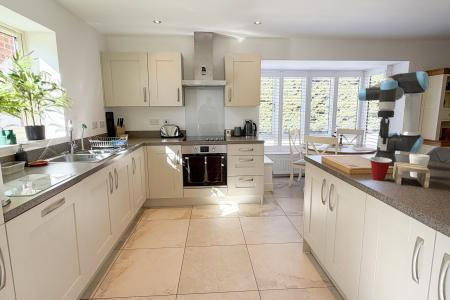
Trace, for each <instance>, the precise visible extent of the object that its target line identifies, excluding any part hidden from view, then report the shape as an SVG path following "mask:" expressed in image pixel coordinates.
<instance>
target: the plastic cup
mask: <svg viewBox="0 0 450 300" xmlns="http://www.w3.org/2000/svg"><path fill="white" fill-rule="evenodd" d="M369 160H370V166H371V177H372V179H373V180H374V181H380V182H383V181H385V179H386V178H387V174H388V171H389V167H390V166H389V165H390V163H391V162H392V160H391V159H388V158H382V157H375V156H372V157H370V158H369Z"/></svg>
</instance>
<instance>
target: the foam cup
mask: <svg viewBox="0 0 450 300" xmlns="http://www.w3.org/2000/svg"><path fill="white" fill-rule="evenodd" d="M430 158H431V157H430V155H428V154H422V153H421V154H419V153H410V154H409V157H408V159H409V163H413V164H422V165H424V166H425V167H426V168H428V164H429V161H430ZM409 175H410V177H411V178H415V179H417V172H409Z"/></svg>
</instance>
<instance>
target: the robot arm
mask: <svg viewBox="0 0 450 300" xmlns="http://www.w3.org/2000/svg"><path fill="white" fill-rule="evenodd" d="M429 86H430V79H429V75H428V73H427V72H426V71H412V72H400V73H396V74H392V75H390V76H387V77H385V78H383V79H382V80H381V81H380V82H378V83H375V84H373V85H371V86H370V87H363V88H360V89H359V90H358V93H357V98H358V100H359V101H361V102H363V101H364V102H366V101H367V102H368V101H371V102H372V101H379V102H378V103H377V106H378V111H377V118H381V119H380V121H379V122H380V123H379V124H380V125H379V132H378V136H377V137H378V138H377V144H376V153H375V155H374V157H382V158H388V159H391V160H392V162H391V163H390V165H394V162H398V161H397V157H396V152H403V153H410V154H418V153H419V152H420V151H421V149H422V147H423V143H424V140H425V139H424V138H425V137H424V136H423V135H422V133H421V132H420V131H419V128H420V127H419V126H420V119H421V118H420V116H421V115H420V114H421V106H422V95H424V94H425V93H426V91H427V90H428V89H429ZM403 97H405V99H404V110H403V112H404V113H403V122H402V123H403V124H402V131H401V132H400V133H399V134H398V133H397V132H389V130H390V119H389V118H394V117H395V109H396V101H399V100H401V99H402V98H403Z"/></svg>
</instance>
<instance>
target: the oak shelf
mask: <svg viewBox="0 0 450 300" xmlns="http://www.w3.org/2000/svg"><path fill="white" fill-rule="evenodd" d="M403 172H409V173H410V172H417V178H416V181H418V183H420V185H422V187H423V188H427V189H429V187H430V186H429V185H430V178H431V177H430V176H431V172H432V171H431V170H430V169H429V168H428V167H425V166H424V165H422V164H413V163H410V162H398V161H397V162H394V166H393V170H392V178H393V180H394V182H395V183H396V185H400V186H401V185H402V178H403Z"/></svg>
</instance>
